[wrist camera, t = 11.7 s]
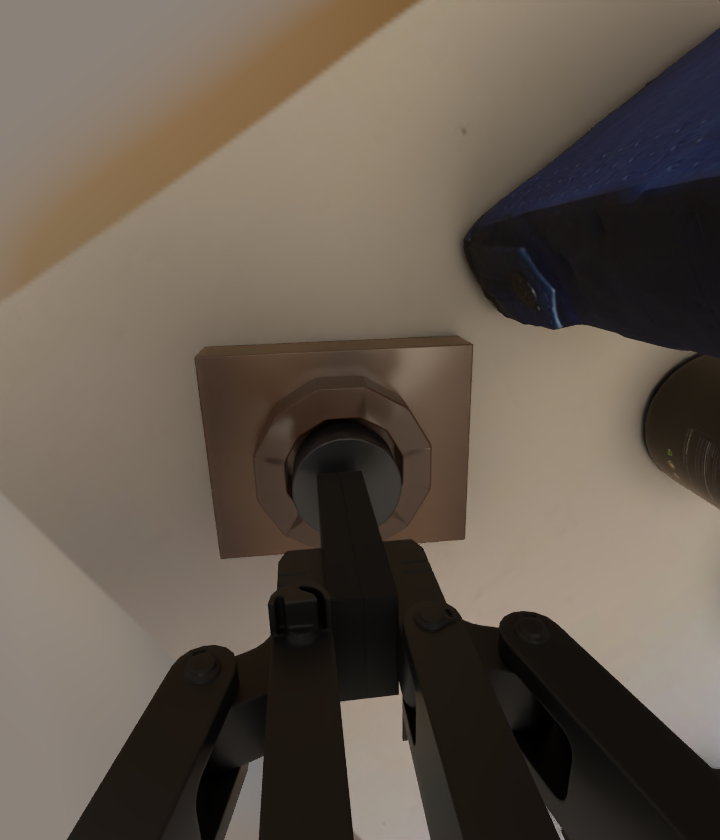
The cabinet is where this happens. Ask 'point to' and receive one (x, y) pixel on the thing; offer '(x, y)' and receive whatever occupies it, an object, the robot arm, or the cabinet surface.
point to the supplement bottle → (688, 427)
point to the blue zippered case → (621, 221)
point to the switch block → (325, 405)
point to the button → (346, 468)
